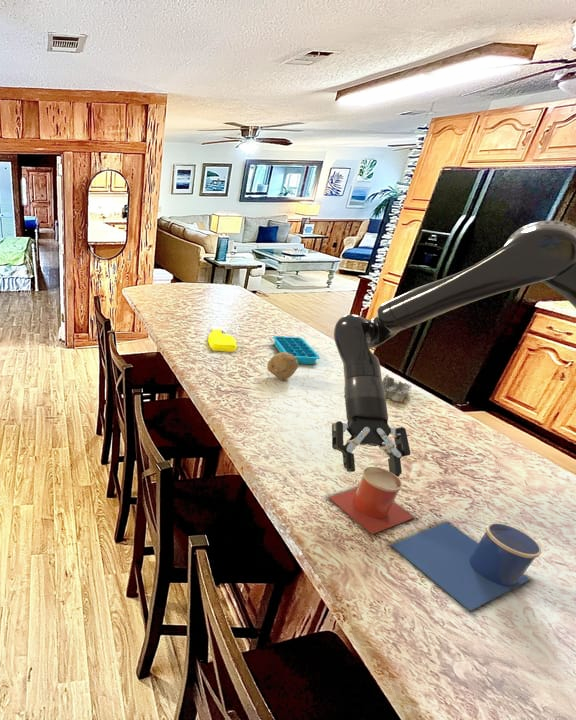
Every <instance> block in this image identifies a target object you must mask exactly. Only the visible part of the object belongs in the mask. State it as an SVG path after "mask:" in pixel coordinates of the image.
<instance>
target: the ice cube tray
mask: <svg viewBox="0 0 576 720" xmlns="http://www.w3.org/2000/svg"><path fill="white" fill-rule="evenodd" d="M272 339H273V340H274V343H273V344H274V347H275V348H276V350H278V353H280V352H287V353H290V354H292V355H293V356H294V357H295V358H296V359H297V361H298V364H300V365H301V364H303V365H315V364H316V362H317V360H319V359H320V358H321V356H320V354H318V353H317V352H316V351H315V350H314V348H312V347H311V346H310V345H309V343H308V342H306V340H305V339H304V338H303V337H299V336H277V335H275V336H273V337H272Z"/></svg>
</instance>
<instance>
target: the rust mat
mask: <svg viewBox="0 0 576 720" xmlns="http://www.w3.org/2000/svg"><path fill="white" fill-rule="evenodd" d="M357 489H358V487H356V488H354V489H350V490H348V491H347V490H346V491H344V492H340V493H338V494H334V495H332V496H329V497H328V499H329V500H330V501H331V502H333V504H334V505H336V506H337V507H339V509H341V510H342V511H343V512H344V513H346V515H348V516H349V517H351V518H352V519H353V520H354V521H355V522H356V523H358V524H359V525H360V526H361V527H362V528H364V529H365V530H366V531H367V532H368V533H369V534H370V535H374V534H377V533H379V532H382V531H384V530H387V529H390V528H392V527H395V526H397V525H400V524H402V523H405V522H408V521H411V520H413V519H415V517H414V516H413V515H412V514H411V513H410V512H408V511H406V510H405V509H404V508H402V507H401V506H400V505H398V504H397V503H395V501H394V502H393V504H392V506H391V509H390V511H389V513H388V515H387V516H386V517H385V518H373V517H370V516H368V515H366V514H364V513H362V512H361V511H359V510H358V509H357V508H356V507H355V505H354V503H353V499H354V496H355V494H356V491H357Z"/></svg>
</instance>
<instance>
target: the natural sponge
mask: <svg viewBox="0 0 576 720" xmlns="http://www.w3.org/2000/svg"><path fill="white" fill-rule="evenodd" d="M298 367H299V363H298V361H297V359H296V358H295V357H294V356H293V355H292V354H290V353H287V352H277V353H275V354H274V355H273V356H272V357H271V358H270V359H269V361H268V362H267V371H268V372H269V373H271V374H272V375H273V376H274V377H276V379H277V380H280V381H285V380H288V379H290V378H291V377H293V375H294V374H295V372H296V371H297V369H298Z"/></svg>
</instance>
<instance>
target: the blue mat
mask: <svg viewBox="0 0 576 720" xmlns="http://www.w3.org/2000/svg"><path fill="white" fill-rule="evenodd" d="M478 543H479V542H476V541H475V540H473V538H471V537H469V536H468V535H467V534H465V533H464V532H462V531H461V530H459V529H458V528H457V527H455V526H453V525H452V524H450V523H449V522H448V521H446V522H443V523H441V524H439V525H437V526H434V527H431V528H429V529H426V530H424V531H422V532H419V533H417V534H414V535H412V536H409V537H407V538H404V539H402V540H399V541H397V542H395V543H392V544H390V547H392V549H394V550H395V551H396V552H398V553H399V554H400V555H401V556H402V557H403V558H405V559H406V560H407V561H409V563H411V564H412V565H413V566H415V567H416V569H418V570H419V571H421V572H422V573H423V575H426V576H427V577H428V578H429V579H430V581H433V582H434V583H435V584H436V585H437V586H439V587H440V588H441V589H442V590H443V591H444V592H445V593H447V594H448V595H449V596H450V597H451V598H453V599H454V600H455V601H456V602H458V603H459V604H460V605H461V606H463V607H464V608H465V609H466V610H468V611H469V612H471V611H473V610H475V609H477V608H479V607H481V606H483V605H485V604H486V603H489V602H490V601H492V600H494V599H496V598H498V597H500V596H502V595H503V594H505V593H507V592H509V591H511V590H513V589H515V588H517V587H518V586H519V587H520V586H521V585H522V584H525V583H526V582H528V581H530V578H529V577H527V576H525V574H523V575H522V577H521V578H520V579H519V581H518V582H517V583H516V585H514V586H503V585H499V584H496V583H494V582H492V581H490V580H488V579H486V578H485V577H483V576H482V575H481V574H479V573H478V572H477V571H476V570H475V569H474V568H473V567H472V565H471V563H470V560H469V559H470V556H471V555H472V553H473V551H474V550H475V548H476V547H477V545H478Z"/></svg>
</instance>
